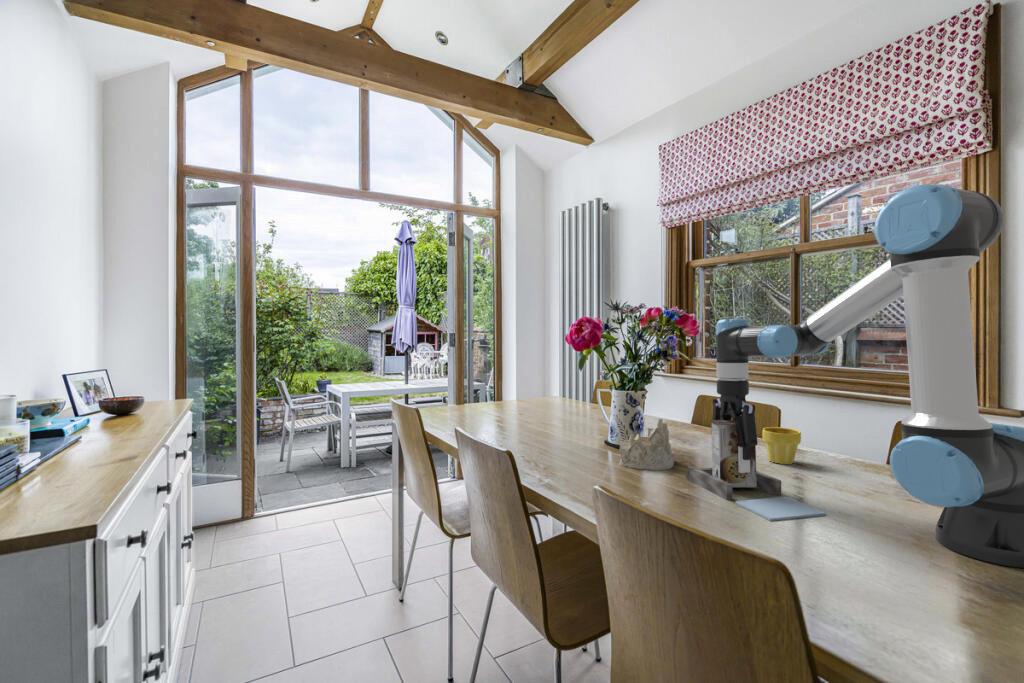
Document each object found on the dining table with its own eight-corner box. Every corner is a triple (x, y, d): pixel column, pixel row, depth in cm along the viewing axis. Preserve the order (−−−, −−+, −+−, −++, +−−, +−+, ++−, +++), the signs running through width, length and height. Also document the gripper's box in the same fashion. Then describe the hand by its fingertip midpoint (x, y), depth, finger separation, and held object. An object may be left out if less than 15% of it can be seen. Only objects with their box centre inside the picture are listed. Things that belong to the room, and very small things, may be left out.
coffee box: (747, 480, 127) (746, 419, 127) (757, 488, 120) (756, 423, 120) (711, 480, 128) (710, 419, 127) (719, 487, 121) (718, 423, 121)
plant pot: (808, 466, 143) (808, 433, 142) (773, 466, 143) (773, 433, 143) (789, 457, 153) (789, 426, 153) (756, 457, 153) (756, 427, 153)
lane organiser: (781, 494, 118) (781, 480, 118) (726, 499, 115) (726, 485, 115) (734, 474, 135) (734, 462, 135) (686, 478, 132) (686, 465, 132)
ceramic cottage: (679, 459, 152) (675, 412, 151) (667, 474, 138) (662, 422, 137) (631, 456, 160) (627, 411, 160) (614, 470, 146) (610, 421, 146)
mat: (826, 515, 105) (826, 512, 105) (769, 521, 102) (769, 518, 102) (787, 498, 115) (787, 496, 115) (735, 503, 112) (735, 501, 112)
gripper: (774, 382, 115) (775, 478, 115) (720, 375, 134) (721, 457, 135) (746, 383, 113) (747, 480, 113) (696, 376, 133) (697, 459, 133)
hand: (733, 467), depth 124 cm, fingers closed on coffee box, 7 cm apart
